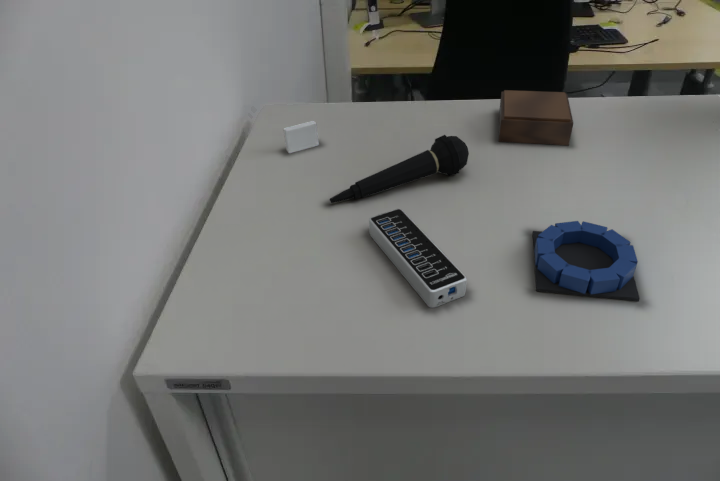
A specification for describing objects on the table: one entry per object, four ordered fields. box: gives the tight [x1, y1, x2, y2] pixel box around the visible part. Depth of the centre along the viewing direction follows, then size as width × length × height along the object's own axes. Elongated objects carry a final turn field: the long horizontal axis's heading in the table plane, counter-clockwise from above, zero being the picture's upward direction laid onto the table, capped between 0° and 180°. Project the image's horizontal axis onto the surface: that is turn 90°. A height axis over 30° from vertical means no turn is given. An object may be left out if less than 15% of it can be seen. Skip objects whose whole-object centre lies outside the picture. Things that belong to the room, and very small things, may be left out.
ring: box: [533, 220, 638, 294], centre depth 60 cm, size 10×10×2 cm
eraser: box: [282, 120, 320, 154], centre depth 84 cm, size 1×5×4 cm, turn 116°
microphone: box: [329, 134, 470, 204], centre depth 74 cm, size 6×6×20 cm
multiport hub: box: [368, 208, 468, 309], centre depth 62 cm, size 4×14×2 cm, turn 25°
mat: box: [532, 230, 641, 302], centre depth 61 cm, size 10×10×1 cm
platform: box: [498, 89, 574, 146], centre depth 85 cm, size 10×10×4 cm
